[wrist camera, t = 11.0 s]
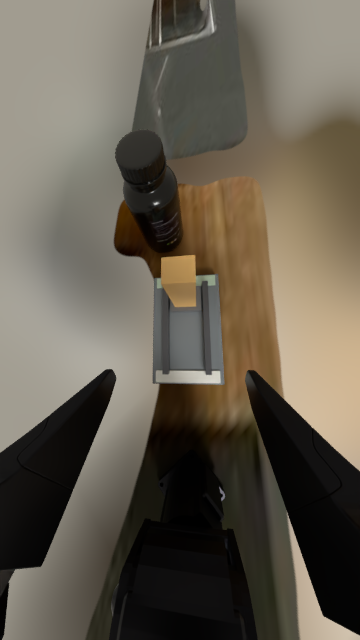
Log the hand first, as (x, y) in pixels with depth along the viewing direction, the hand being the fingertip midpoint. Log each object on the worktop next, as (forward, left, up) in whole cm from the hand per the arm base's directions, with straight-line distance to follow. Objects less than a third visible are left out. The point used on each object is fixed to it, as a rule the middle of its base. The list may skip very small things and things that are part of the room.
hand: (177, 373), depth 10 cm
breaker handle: (+5, +6, -11) cm, 14 cm away
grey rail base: (+3, +3, -13) cm, 13 cm away
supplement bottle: (+11, +18, -13) cm, 25 cm away
